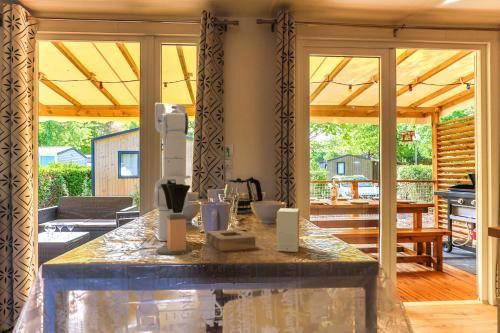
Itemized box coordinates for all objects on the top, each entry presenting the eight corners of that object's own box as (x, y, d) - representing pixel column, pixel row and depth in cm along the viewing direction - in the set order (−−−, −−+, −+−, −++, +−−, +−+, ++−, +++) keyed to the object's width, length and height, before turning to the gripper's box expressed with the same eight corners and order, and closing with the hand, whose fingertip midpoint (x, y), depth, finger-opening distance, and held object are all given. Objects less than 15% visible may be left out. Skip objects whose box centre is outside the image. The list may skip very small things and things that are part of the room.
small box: (297, 252, 86) (298, 211, 86) (276, 251, 87) (276, 211, 87) (299, 245, 94) (299, 208, 94) (279, 244, 95) (279, 207, 95)
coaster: (153, 248, 89) (153, 247, 89) (187, 245, 93) (187, 244, 93) (159, 256, 81) (159, 254, 81) (195, 253, 85) (195, 251, 85)
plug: (166, 248, 88) (167, 214, 88) (182, 246, 90) (182, 213, 90) (169, 251, 85) (170, 216, 85) (186, 250, 86) (186, 215, 86)
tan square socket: (207, 241, 98) (207, 231, 98) (238, 239, 102) (239, 229, 102) (220, 251, 87) (220, 239, 87) (255, 247, 91) (255, 236, 91)
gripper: (197, 158, 82) (196, 213, 82) (184, 159, 96) (183, 207, 95) (168, 157, 79) (167, 215, 79) (158, 159, 93) (158, 208, 93)
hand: (174, 210), depth 87 cm, fingers open, 7 cm apart
